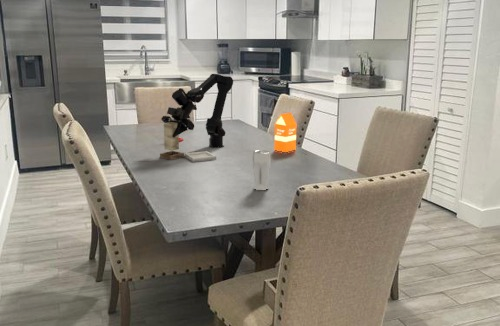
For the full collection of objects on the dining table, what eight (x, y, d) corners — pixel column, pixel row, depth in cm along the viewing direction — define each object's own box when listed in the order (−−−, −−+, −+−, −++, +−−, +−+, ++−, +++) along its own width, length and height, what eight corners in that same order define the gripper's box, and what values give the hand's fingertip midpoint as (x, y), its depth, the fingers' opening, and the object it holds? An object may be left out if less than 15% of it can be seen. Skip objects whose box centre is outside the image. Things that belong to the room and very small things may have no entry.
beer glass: (251, 186, 194) (251, 149, 191) (268, 186, 195) (269, 149, 191) (253, 191, 187) (253, 153, 184) (270, 191, 188) (271, 153, 184)
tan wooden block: (172, 147, 244) (171, 121, 241) (178, 148, 241) (178, 123, 238) (164, 149, 240) (163, 123, 237) (171, 150, 237) (170, 124, 234)
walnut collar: (172, 154, 247) (172, 150, 247) (184, 156, 242) (184, 153, 242) (159, 157, 241) (159, 153, 240) (171, 160, 236) (171, 156, 235)
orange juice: (295, 150, 259) (297, 113, 254) (285, 153, 252) (286, 115, 247) (284, 148, 264) (285, 111, 259) (274, 150, 257) (274, 113, 253)
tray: (207, 154, 248) (207, 151, 247) (216, 159, 237) (216, 156, 237) (184, 156, 242) (184, 153, 242) (193, 162, 232) (193, 158, 232)
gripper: (163, 99, 243) (147, 124, 238) (189, 102, 232) (173, 128, 226) (175, 113, 251) (160, 137, 246) (201, 117, 240) (186, 142, 234)
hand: (169, 136), depth 238 cm, fingers closed on tan wooden block, 5 cm apart
